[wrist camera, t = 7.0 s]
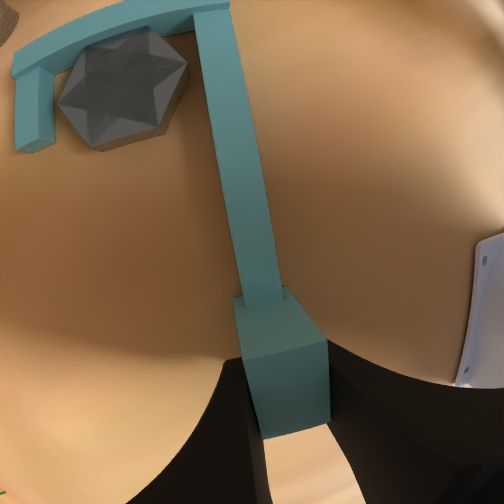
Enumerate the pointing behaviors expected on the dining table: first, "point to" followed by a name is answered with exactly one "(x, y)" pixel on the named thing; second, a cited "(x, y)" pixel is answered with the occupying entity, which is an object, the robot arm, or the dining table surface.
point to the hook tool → (233, 186)
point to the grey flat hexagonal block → (124, 89)
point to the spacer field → (7, 21)
